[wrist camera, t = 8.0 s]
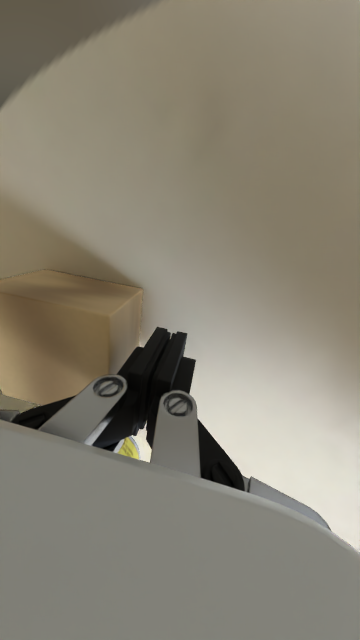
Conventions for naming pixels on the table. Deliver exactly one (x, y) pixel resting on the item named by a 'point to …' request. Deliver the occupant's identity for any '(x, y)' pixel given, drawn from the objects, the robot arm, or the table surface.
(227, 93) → the table surface
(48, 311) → the block
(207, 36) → the table surface
